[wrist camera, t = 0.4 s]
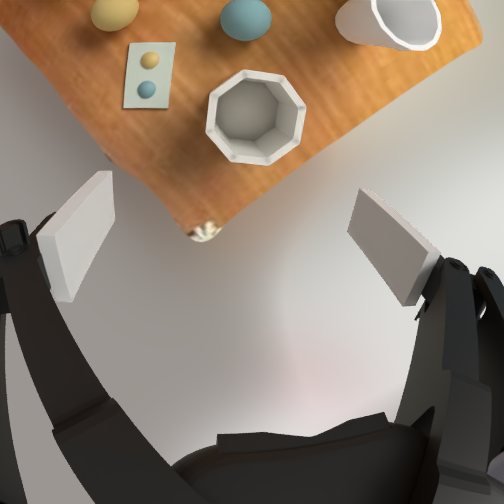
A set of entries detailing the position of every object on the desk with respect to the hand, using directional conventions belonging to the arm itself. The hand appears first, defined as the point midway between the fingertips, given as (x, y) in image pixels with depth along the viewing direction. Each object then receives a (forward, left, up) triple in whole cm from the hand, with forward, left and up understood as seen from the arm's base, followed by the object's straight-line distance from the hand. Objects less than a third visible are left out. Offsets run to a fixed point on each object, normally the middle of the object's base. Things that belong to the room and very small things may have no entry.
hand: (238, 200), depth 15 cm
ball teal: (-15, +1, -26) cm, 30 cm away
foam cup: (-19, +16, -26) cm, 36 cm away
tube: (-3, +3, -26) cm, 26 cm away
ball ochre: (-16, -15, -26) cm, 34 cm away
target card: (-7, -10, -26) cm, 28 cm away
